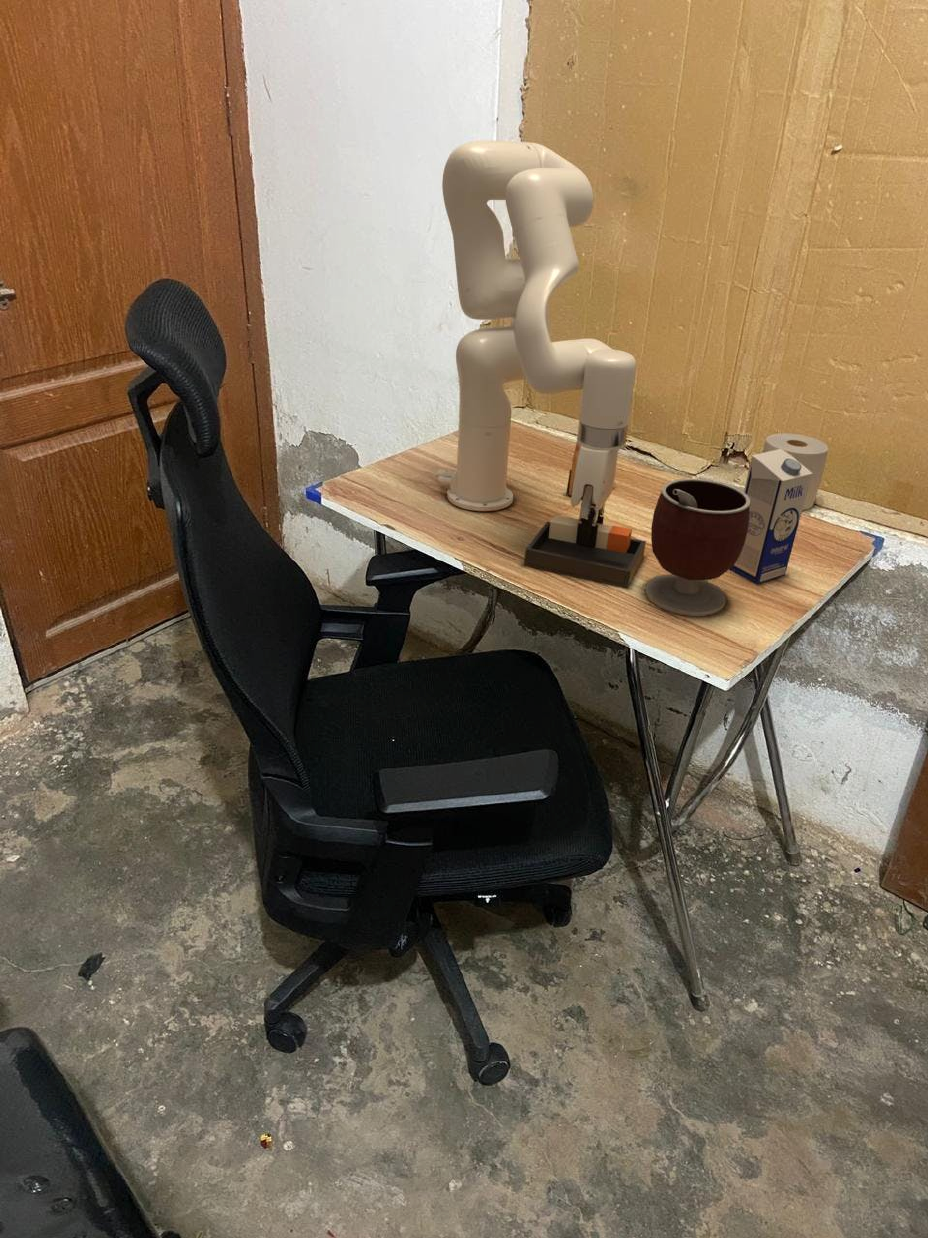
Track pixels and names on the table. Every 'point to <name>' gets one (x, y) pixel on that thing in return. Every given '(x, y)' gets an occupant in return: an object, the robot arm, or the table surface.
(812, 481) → the toilet paper roll
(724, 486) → the mate gourd
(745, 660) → the table surface
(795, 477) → the milk carton
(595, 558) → the tray
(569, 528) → the rectangular block
